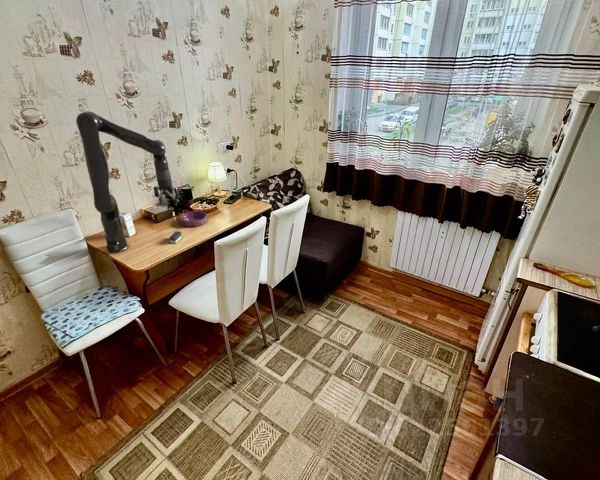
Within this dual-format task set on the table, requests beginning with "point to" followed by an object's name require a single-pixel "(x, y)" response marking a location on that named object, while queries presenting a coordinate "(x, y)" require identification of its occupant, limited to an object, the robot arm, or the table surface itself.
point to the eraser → (175, 237)
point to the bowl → (194, 218)
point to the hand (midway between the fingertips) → (169, 204)
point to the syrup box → (127, 224)
